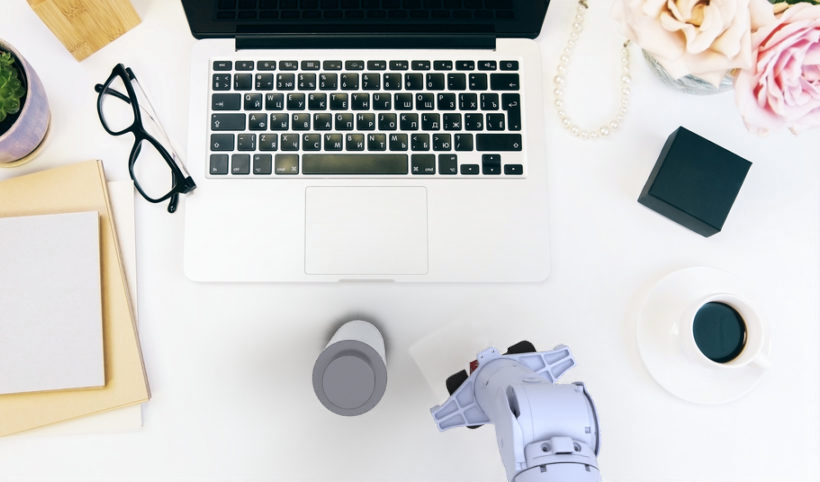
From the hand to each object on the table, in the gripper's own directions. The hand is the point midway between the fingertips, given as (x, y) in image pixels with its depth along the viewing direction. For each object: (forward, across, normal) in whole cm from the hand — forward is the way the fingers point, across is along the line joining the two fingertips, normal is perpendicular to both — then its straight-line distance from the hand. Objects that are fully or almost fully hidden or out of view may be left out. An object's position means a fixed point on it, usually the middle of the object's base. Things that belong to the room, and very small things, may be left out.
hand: (486, 372), depth 65 cm
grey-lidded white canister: (+7, +12, -8) cm, 16 cm away
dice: (+2, 0, 0) cm, 2 cm away
